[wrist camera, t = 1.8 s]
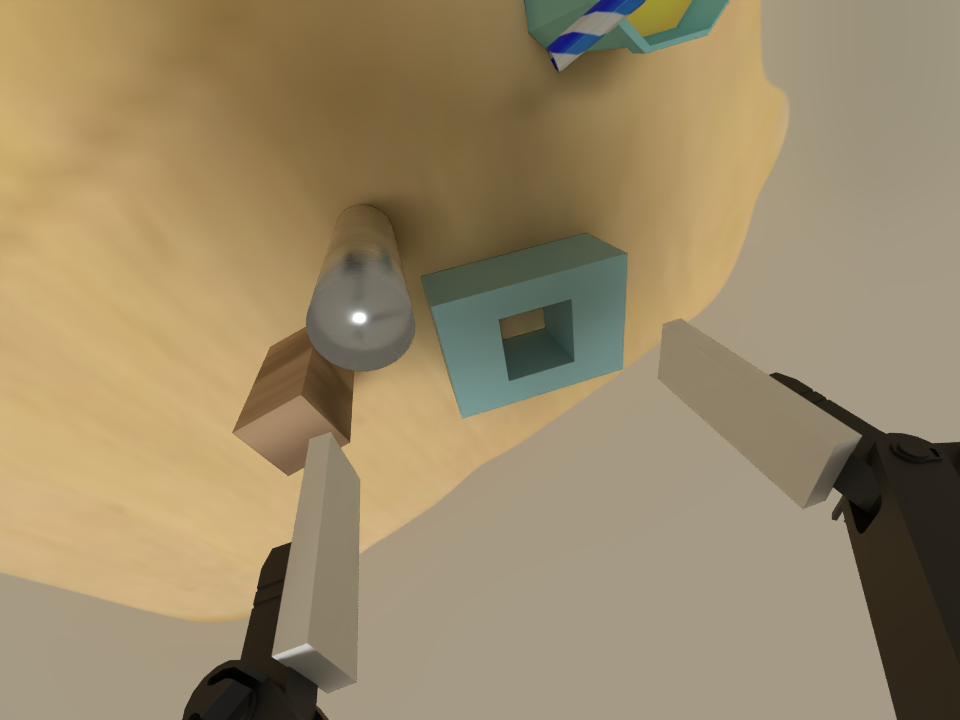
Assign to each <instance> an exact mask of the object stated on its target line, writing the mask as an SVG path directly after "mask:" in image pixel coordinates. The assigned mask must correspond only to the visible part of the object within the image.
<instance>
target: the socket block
mask: <svg viewBox="0 0 960 720" xmlns="http://www.w3.org/2000/svg"><path fill="white" fill-rule="evenodd" d="M627 256H628V253H626V252H624V251H622V250H620V249H618V248H616V247H614V246H612V245H610V244H608V243H606V242H604V241H601V240H599V239H597V238H595V237H593V236H591V235H589V234H587V233H584V234H581V235H577V236H573V237H569V238H565V239H562V240H558V241H554V242H550V243H546V244H543V245H539V246H535V247H531V248H527V249H524V250H520V251H516V252H512V253H508V254H505V255H501V256H497V257H493V258H489V259H486V260H482V261H478V262H474V263H470V264H467V265H463V266H459V267H455V268H451V269H448V270H444V271H440V272H436V273H432V274H429V275H425V276H421V279H422V283H423V286H424V290H425V293H426V297H427V301H428V304H429V308H430V311H431V315H432V318H433V322H434V326H435V329H436V333H437V336H438V340H439V343H440V347H441V351H442V354H443V358H444V361H445V365H446V368H447V372H448V375H449V379H450V382H451V385H452V388H453V391H454V394H455V398H456V401H457V404H458V407H459V410H460V413H461V416H462V419H463V418H466V417H469V416H472V415H476V414H479V413H482V412H485V411H489V410H492V409H495V408H498V407H501V406H505V405H508V404H511V403H514V402H518V401H521V400H524V399H527V398H531V397H534V396H537V395H540V394H543V393H547V392H550V391H553V390H556V389H560V388H563V387H566V386H569V385H573V384H576V383H579V382H582V381H585V380H589V379H592V378H595V377H598V376H602V375H605V374H608V373H611V372H615V371H618V370H621V369H623V346H624V324H625V301H626V278H627ZM541 307H543V309H544V320H545V328H544V329H540V330H537V331H533V332H530V333H527V334H523V335H520V336H516V337H513V338H509V339H506V340H502V337H501V331H500V326H499V319H502V318H506V317H510V316H513V315H517V314H520V313H524V312H527V311H531V310H534V309H538V308H541Z"/></svg>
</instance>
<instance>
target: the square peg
mask: <svg viewBox="0 0 960 720" xmlns="http://www.w3.org/2000/svg"><path fill="white" fill-rule="evenodd" d="M353 382H354V370H349V369H345V368H342V367H339V366H337V365H335V364H333V363H331V362H329V361H328V360H327V359H325V358H324V357H323V356H322V355H321V354H320V353H319V352H318V351H317V350H316V349H315V348H314V346H313V344H312V343H311V341H310V338H309V336H308V332H307V327H305V328H303V329H301V330H300V331H298V332H296V333H294V334H292V335H291V336H289V337H287V338H285V339H284V340H282V341H280V342H278V343H277V344H275V345H273V346H271V347H270V349H269V351H268V353H267V355H266V358H265V360H264V362H263V364H262V367H261V369H260V371H259V373H258V376H257V378H256V380H255V382H254V385H253V387H252V389H251V392H250V394H249V396H248V398H247V401H246V403H245V405H244V407H243V410H242V412H241V414H240V416H239V419H238V421H237V423H236V425H235V428H234V430H233V432H232V433H233V434H234V435H235V436H237V437H238V438H239V439H241V440H242V441H243V442H245V443H246V444H247V445H248V446H250V447H251V448H252V449H254V450H255V451H256V452H258V453H259V454H260V455H262V456H263V457H264V458H265V459H267V460H268V461H269V462H271V463H272V464H273V465H275V466H276V467H277V468H279V469H280V470H281V471H282V472H284V473H285V474H286V475H288V476H290V475H291V474H293V473H295V472H297V471H299V470H300V469H302V468H304V467H305V463H306V457H307V451H308V445H309V440H310V439H311V438H314V437H317V436H320V435H323V434H326V433H329V432H331V433H332V435H333V436H334V438H335V440H336V441H337V443H338V444H339V446H340V448H341V447H342V446H344V445H346V444H348V443H350V435H351V417H352V400H353Z"/></svg>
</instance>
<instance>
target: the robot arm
mask: <svg viewBox="0 0 960 720" xmlns="http://www.w3.org/2000/svg"><path fill="white" fill-rule="evenodd" d="M658 379H659V380H660V381H661V382H662V383H663V384H664V385H666V386H667V387H668V388H669V389H670V390H671V391H672V392H673V393H674V394H676V395H677V396H678V397H679V398H680V399H681V400H683V402H684V403H686V404H687V405H688V406H689V407H690V408H691V409H692V410H693V411H695V412H696V413H697V414H698V415H699V416H700V417H701V418H702V419H703V420H705V421H706V422H707V423H708V424H709V425H710V426H711V427H712V428H713V429H714V430H716V431H717V432H718V433H719V434H720V435H721V436H722V437H723V438H724V439H726V440H727V441H728V442H729V443H730V444H731V445H732V446H733V447H734V448H735V449H737V450H738V451H739V452H740V453H741V454H742V455H743V456H744V457H745V458H747V459H748V460H749V461H750V462H751V463H752V464H753V465H754V466H756V468H758V469H759V470H760V471H761V472H762V473H763V474H764V475H765V476H767V477H768V478H769V479H770V480H771V481H772V482H773V483H774V484H775V485H777V486H778V487H779V488H780V489H781V490H782V491H783V492H784V493H785V494H787V495H788V496H789V497H790V498H791V499H792V500H793V501H794V502H795V503H796V504H798V505H799V506H800V507H801V508H802V509H804V508H807V507H809V506H812V505H814V504H817V503H819V502H822V501H825V500H826V498H827V497H828V495H829V493H830V492H831V490H832V488H833V487H834V488H835V489H836V490H837V491H839V492H840V493H841V494H842V495H843V496H842V497H841V499H840V501H839V502H838V504H837V506H836V507H835V509H834V511H833V512H832V520H837V519H838V517H839V516H840V515H841V513H842V511H843V514H844V518H845V520H844V522H845V523H846V525H847V529H848V533H849V537H850V541H851V545H852V549H853V553H854V556H855V560H856V564H857V568H858V572H859V576H860V579H861V583H862V587H863V591H864V595H865V598H866V602H867V606H868V610H869V614H870V618H871V621H872V625H873V629H874V633H875V637H876V641H877V645H878V648H879V652H880V656H881V660H882V664H883V667H884V671H885V675H886V679H887V683H888V687H889V690H890V694H891V698H892V702H893V705H894V710H895V713H896V717H897V720H960V442H951V443H931V442H928V441H926V440H924V439H921V438H919V437H916V436H912V435H908V434H903V433H888V434H886V433H884V432H882V431H880V430H878V429H876V428H875V427H873V426H871V425H870V424H868V423H867V422H865V421H863V420H862V419H860V418H858V417H857V416H855V415H853V414H852V413H850V412H849V411H847V410H845V409H843V408H842V407H841V406H839V405H837V404H836V403H834V402H832V401H831V400H827V399H826V398H825V397H824V396H823V395H821V394H819V393H818V392H813V390H812V389H811V388H810V387H808V386H806V385H805V384H803V383H801V382H800V381H798V380H797V379H794V378H791V377H788V376H785V375H783V374H780V373H773V374H770V375H767V374H766V373H764V372H763V371H761V370H760V369H758V368H757V367H755V366H753V365H752V364H750V363H749V362H747V361H746V360H744V359H743V358H741V357H740V356H738V355H737V354H735V353H733V352H732V351H730V350H729V349H727V348H726V347H724V346H723V345H721V344H719V343H718V342H716V341H715V340H713V339H712V338H710V337H709V336H707V335H705V334H704V333H702V332H701V331H699V330H698V329H696V328H695V327H693V326H692V325H690V324H689V323H687V322H685V321H684V320H682V319H681V318H680V319H677V320H674V321H671V322H668V323H665V324H663V328H662V338H661V350H660V360H659V371H658ZM359 522H360V478H359V476H358V475H357V473H356V472H355V470H354V468H353V467H352V465H351V464H350V462H349V460H348V459H347V457H346V456H345V454H344V452H343V451H342V449H341V448H340V446H339V444H338V443H337V441H336V440H335V438H334V436H333V435H332V433H331V432H329V433H326V434H323V435H320V436H317V437H314V438H311V439H310V440H309V445H308V451H307V457H306V463H305V468H304V474H303V480H302V485H301V491H300V497H299V503H298V508H297V514H296V520H295V525H294V531H293V537H292V542H290V543H287V544H284V545H282V546H279V547H276V548H273V549H272V551H271V552H270V554H269V556H268V558H267V559H266V561H265V563H264V565H263V567H262V569H261V573H260V577H259V582H258V586H257V589H258V591H257V592H256V595H255V599H254V603H253V605H254V608H253V609H252V612H251V616H250V620H249V625H248V630H247V634H246V638H245V642H244V647H243V651H242V655H241V660H229V661H227V662H225V663H223V664H221V665H219V666H217V667H216V668H215V669H213V670H212V671H211V672H210V673H209V674H208V675H207V676H206V677H204V679H203V680H202V681H201V682H200V684H199V685H198V686H197V688H196V689H195V690H194V692H193V693H192V695H191V698H190V700H189V701H188V703H187V705H186V707H185V710H184V715H183V719H182V720H328V718H327V717H326V716H325V714H324V713H323V712H322V710H321V709H320V708H319V707H317V706H316V702H317V689H318V687H319V688H320V689H321V690H323V691H324V692H326V693H330V692H332V691H335V690H338V689H340V688H343V687H345V686H348V685H351V684H353V683H356V682H357V640H358V582H359V581H358V580H359Z"/></svg>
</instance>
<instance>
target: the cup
mask: <svg viewBox="0 0 960 720" xmlns="http://www.w3.org/2000/svg"><path fill="white" fill-rule="evenodd" d="M524 1H525V9H526V17H527V25H528V33H529V34H530V35H532V36H533V37H534V38H535V39H536V40H537V41H538V42H539V43H540V44H541V45H542V46H543V47H544V48H546V49H547V51H548V54H549V56H550V59H551V61H552V63H553V65H554V67H555V69H556V70H557V71H558V73H559V72H561V71H562V70H563V69H564V68H565V67H567V66H568V65H569V64H570V63H572V62H573V61H574V60H575V59H576V58H578V57H579V56H580V55H581V54H583V53H584V52H589V51H597V50H606V49H615V48H624V47H628V48H629V50H630V51H631V52H632V53H649V52H652V51H655V50H659V49H662V48H665V47H669V46H672V45H675V44H679V43H682V42H686V41H689V40H692V39H696V38H699V37H702V36H706V35H708V33H709V32H710V30H711V29H712V27H713V26H714V24H715V23H716V21H717V20H718V18H719V17H720V15H721V13H722V12H723V10H724V9H725V7H726V6H727V4H728V3H729V1H730V0H524Z"/></svg>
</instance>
